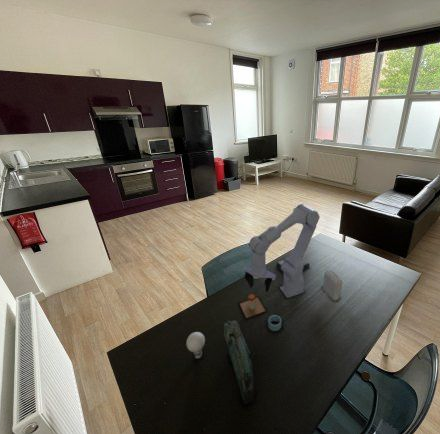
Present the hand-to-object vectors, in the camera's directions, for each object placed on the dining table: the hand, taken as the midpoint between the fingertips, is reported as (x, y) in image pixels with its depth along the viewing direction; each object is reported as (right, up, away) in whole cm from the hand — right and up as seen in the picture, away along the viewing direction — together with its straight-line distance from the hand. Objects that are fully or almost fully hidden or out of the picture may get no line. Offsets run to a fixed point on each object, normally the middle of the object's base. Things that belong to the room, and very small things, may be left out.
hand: (259, 288), depth 106 cm
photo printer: (+34, -6, +11) cm, 36 cm away
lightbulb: (-21, -20, -19) cm, 34 cm away
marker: (-3, -9, +2) cm, 10 cm away
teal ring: (+7, -14, -6) cm, 17 cm away
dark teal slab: (-5, -22, -24) cm, 33 cm away
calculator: (+17, +3, +28) cm, 33 cm away
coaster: (-3, -9, +2) cm, 10 cm away
